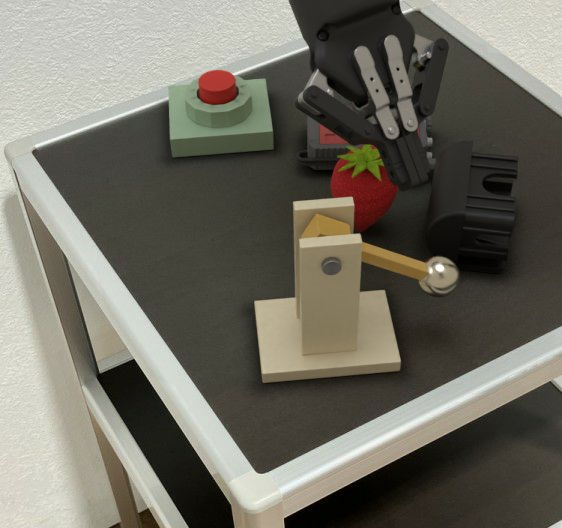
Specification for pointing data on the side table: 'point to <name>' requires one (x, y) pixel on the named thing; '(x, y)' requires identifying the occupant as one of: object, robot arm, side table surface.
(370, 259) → the lever
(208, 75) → the button
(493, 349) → the side table surface
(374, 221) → the strawberry
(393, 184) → the robot arm
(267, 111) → the button box
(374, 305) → the bracket
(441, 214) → the end cap
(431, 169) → the walkie-talkie
